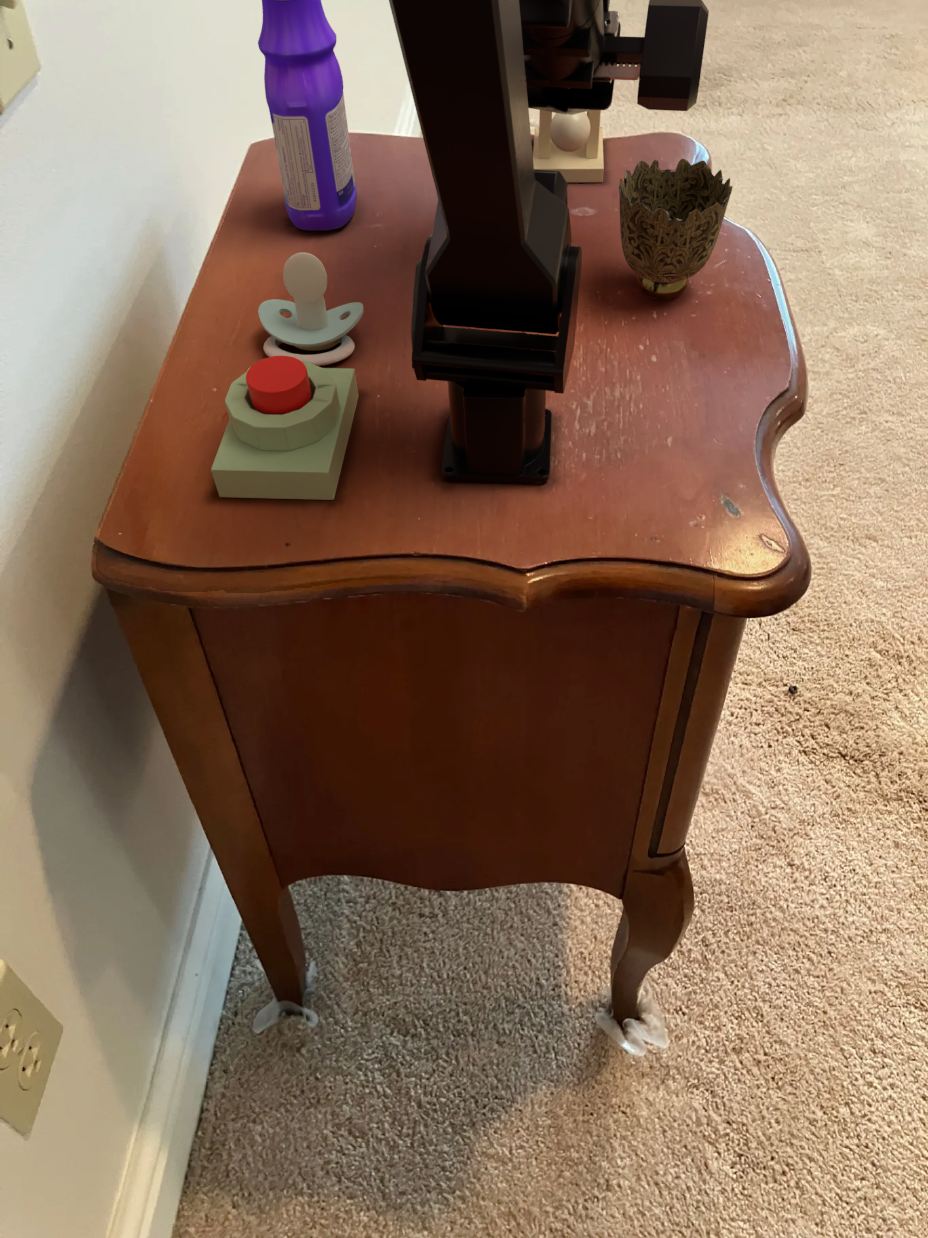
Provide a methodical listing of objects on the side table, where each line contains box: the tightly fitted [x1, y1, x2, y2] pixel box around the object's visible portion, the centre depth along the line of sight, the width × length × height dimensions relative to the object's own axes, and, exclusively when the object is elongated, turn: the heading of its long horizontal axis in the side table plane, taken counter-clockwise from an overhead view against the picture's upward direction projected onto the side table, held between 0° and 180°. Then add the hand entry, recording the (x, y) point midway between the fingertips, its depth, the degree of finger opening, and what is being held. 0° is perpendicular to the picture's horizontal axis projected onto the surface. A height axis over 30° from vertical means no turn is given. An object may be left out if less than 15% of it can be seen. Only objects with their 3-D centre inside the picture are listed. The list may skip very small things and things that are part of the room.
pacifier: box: [257, 251, 364, 367], centre depth 64 cm, size 7×6×6 cm
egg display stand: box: [532, 110, 605, 183], centre depth 78 cm, size 8×6×10 cm
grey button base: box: [210, 361, 360, 501], centre depth 58 cm, size 10×7×4 cm
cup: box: [618, 158, 733, 301], centre depth 66 cm, size 8×7×8 cm
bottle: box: [257, 0, 358, 231], centre depth 71 cm, size 7×6×17 cm
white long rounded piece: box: [550, 112, 590, 152], centre depth 75 cm, size 10×3×3 cm, turn 176°
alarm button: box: [246, 356, 311, 415], centre depth 56 cm, size 4×4×2 cm
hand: (569, 107), depth 72 cm, fingers closed
